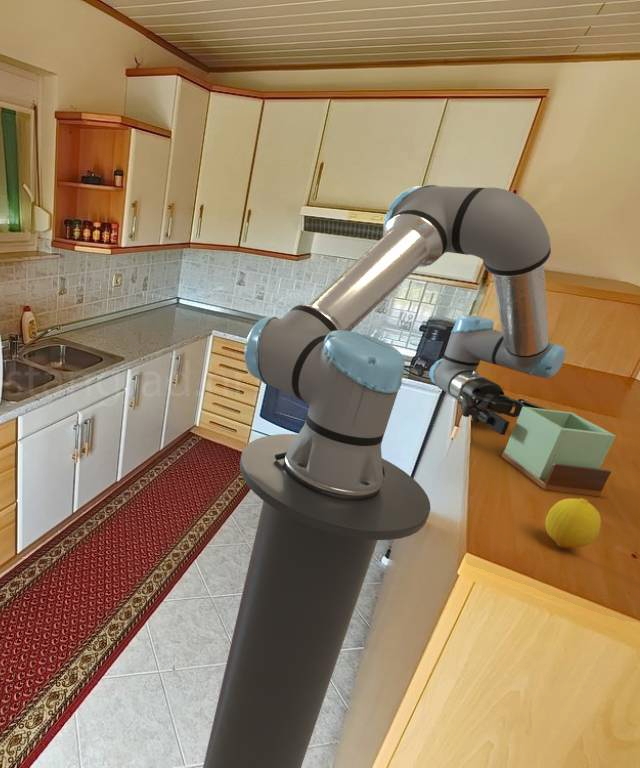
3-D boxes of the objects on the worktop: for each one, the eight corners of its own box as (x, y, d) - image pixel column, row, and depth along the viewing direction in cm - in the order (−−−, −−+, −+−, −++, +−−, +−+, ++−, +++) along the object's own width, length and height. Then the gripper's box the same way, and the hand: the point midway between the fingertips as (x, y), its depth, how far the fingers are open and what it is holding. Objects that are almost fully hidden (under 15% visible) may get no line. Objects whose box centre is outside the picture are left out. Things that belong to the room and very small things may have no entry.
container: (591, 485, 86) (616, 435, 83) (539, 478, 87) (561, 429, 83) (550, 457, 96) (571, 412, 92) (503, 451, 96) (522, 406, 93)
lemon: (533, 543, 70) (555, 496, 67) (540, 529, 73) (561, 483, 71) (583, 565, 66) (609, 516, 63) (587, 549, 70) (612, 502, 67)
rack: (598, 496, 85) (611, 471, 83) (544, 489, 85) (555, 464, 83) (549, 462, 96) (559, 439, 94) (501, 456, 96) (510, 433, 95)
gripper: (426, 371, 112) (481, 407, 92) (538, 383, 111) (618, 423, 91) (416, 400, 115) (468, 442, 95) (526, 413, 113) (600, 458, 94)
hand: (541, 432), depth 93 cm, fingers open, 13 cm apart
